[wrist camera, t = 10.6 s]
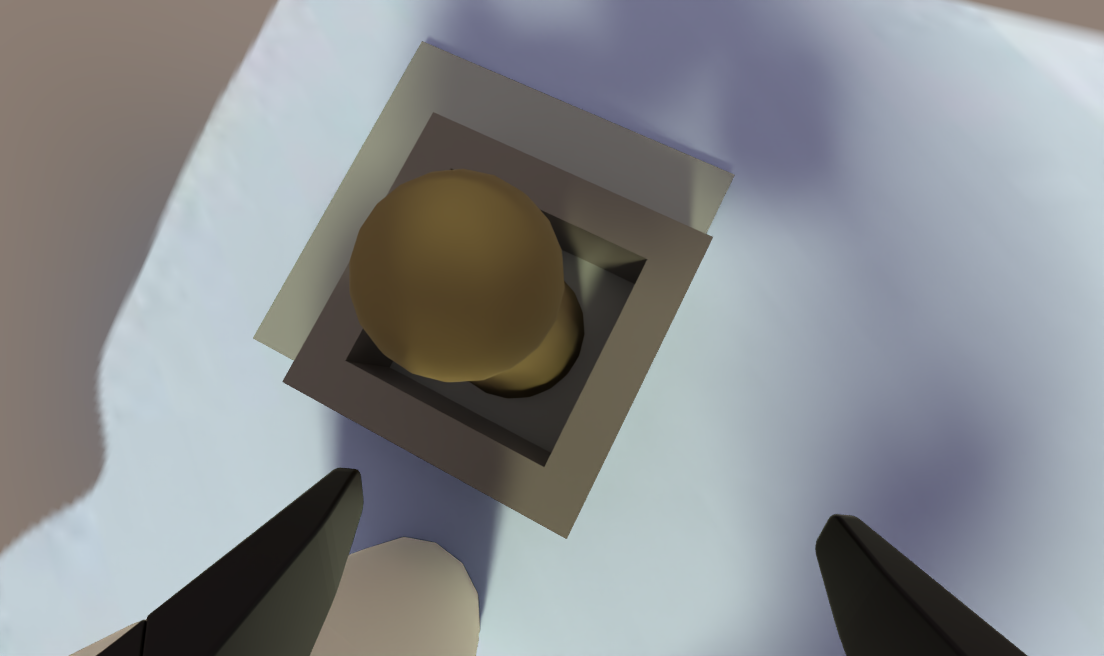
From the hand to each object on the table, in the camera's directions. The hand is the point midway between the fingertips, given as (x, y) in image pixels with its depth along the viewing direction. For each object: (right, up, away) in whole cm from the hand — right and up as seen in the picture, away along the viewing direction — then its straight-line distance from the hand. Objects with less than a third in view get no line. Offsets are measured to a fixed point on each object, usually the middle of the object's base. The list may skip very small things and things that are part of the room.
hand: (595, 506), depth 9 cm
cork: (-2, +3, +12) cm, 13 cm away
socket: (-4, +6, +13) cm, 15 cm away
